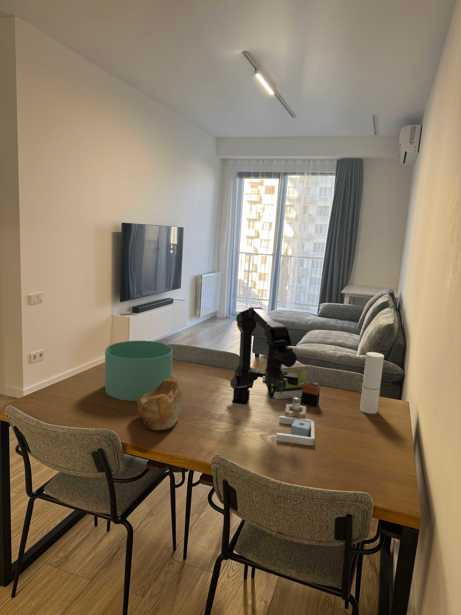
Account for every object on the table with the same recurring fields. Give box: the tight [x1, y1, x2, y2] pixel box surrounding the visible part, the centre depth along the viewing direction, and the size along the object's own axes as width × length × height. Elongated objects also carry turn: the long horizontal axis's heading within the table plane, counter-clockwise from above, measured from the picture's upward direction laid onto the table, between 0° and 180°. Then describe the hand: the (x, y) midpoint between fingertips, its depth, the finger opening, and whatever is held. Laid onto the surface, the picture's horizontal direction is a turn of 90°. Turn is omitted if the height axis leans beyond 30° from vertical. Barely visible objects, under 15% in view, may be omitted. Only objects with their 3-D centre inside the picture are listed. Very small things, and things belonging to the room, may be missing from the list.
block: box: [290, 419, 311, 437], centre depth 156 cm, size 6×6×5 cm
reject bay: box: [276, 415, 316, 447], centre depth 158 cm, size 13×16×2 cm
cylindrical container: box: [359, 351, 385, 415], centre depth 181 cm, size 7×7×25 cm
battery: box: [300, 380, 321, 408], centre depth 185 cm, size 4×7×10 cm, turn 61°
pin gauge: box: [291, 397, 302, 412], centre depth 170 cm, size 3×3×8 cm
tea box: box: [266, 360, 308, 400], centre depth 194 cm, size 15×10×15 cm, turn 108°
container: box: [104, 340, 174, 402], centre depth 191 cm, size 30×30×19 cm
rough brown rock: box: [136, 375, 183, 431], centre depth 161 cm, size 23×17×15 cm
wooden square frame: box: [284, 403, 307, 419], centre depth 170 cm, size 8×8×4 cm
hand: (271, 398), depth 160 cm, fingers closed
